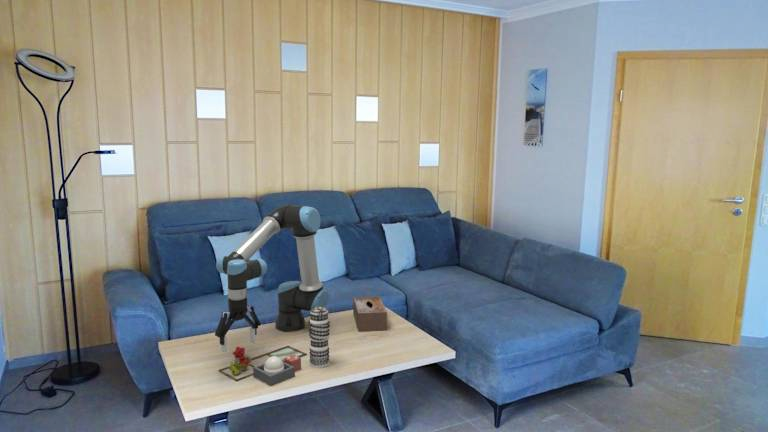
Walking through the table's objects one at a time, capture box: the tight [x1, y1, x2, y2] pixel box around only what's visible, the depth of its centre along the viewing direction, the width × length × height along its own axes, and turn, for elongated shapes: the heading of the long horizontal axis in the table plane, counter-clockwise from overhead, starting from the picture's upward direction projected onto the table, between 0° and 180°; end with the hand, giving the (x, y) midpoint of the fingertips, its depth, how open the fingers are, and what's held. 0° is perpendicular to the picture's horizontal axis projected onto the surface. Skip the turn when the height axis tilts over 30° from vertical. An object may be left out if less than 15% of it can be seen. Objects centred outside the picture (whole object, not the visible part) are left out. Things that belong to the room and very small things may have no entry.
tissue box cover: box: [352, 296, 388, 333], centre depth 289 cm, size 26×14×10 cm, turn 9°
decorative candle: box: [307, 306, 331, 369], centre depth 237 cm, size 9×9×25 cm
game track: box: [218, 345, 308, 382], centre depth 239 cm, size 14×36×1 cm, turn 137°
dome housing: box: [252, 355, 302, 387], centre depth 228 cm, size 12×18×6 cm, turn 137°
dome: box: [264, 356, 284, 375], centre depth 226 cm, size 8×8×8 cm
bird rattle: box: [228, 346, 252, 375], centre depth 230 cm, size 6×11×9 cm
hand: (238, 347), depth 229 cm, fingers open, 13 cm apart
